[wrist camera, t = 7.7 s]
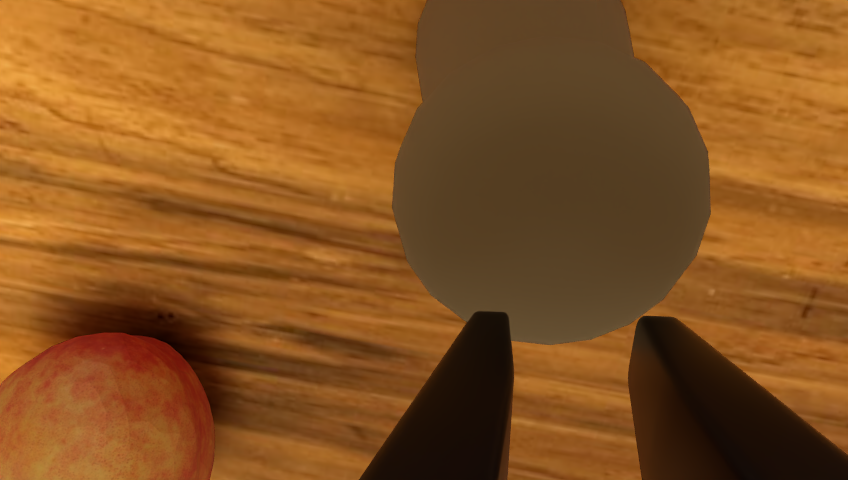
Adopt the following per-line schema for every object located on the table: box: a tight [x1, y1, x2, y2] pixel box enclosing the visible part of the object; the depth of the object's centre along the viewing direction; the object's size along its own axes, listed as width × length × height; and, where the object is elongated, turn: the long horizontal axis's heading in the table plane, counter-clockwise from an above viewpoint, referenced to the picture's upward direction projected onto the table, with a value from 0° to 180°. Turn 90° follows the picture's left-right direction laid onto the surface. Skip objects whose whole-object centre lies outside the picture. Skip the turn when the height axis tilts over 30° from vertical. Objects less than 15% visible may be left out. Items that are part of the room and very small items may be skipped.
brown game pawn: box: [392, 0, 711, 345], centre depth 15 cm, size 6×6×11 cm
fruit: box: [0, 333, 215, 480], centre depth 24 cm, size 8×8×8 cm
